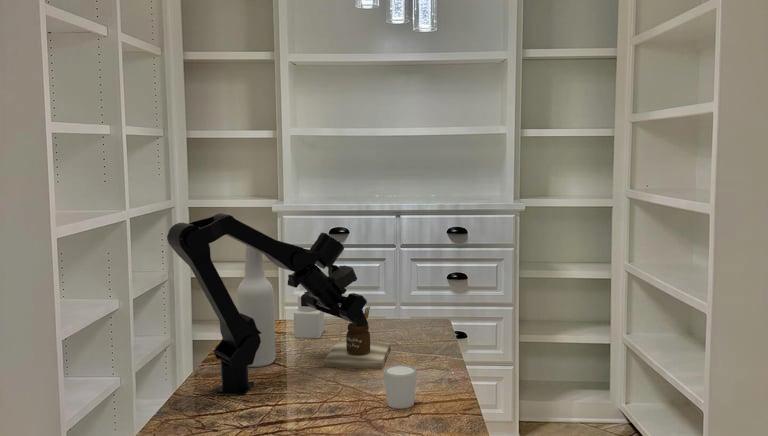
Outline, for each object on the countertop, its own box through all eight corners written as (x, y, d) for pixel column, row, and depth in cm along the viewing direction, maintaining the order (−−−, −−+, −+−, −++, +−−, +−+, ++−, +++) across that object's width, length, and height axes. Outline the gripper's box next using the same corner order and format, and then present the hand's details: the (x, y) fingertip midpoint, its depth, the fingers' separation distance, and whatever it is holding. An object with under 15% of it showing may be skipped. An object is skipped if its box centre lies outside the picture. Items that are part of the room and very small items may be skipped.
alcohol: (239, 369, 159) (234, 244, 156) (239, 357, 168) (235, 238, 164) (276, 366, 161) (272, 242, 157) (275, 355, 169) (271, 237, 166)
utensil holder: (356, 347, 170) (356, 300, 169) (376, 351, 166) (375, 304, 165) (341, 352, 166) (340, 305, 164) (361, 357, 162) (360, 309, 160)
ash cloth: (381, 369, 158) (381, 363, 158) (323, 367, 160) (323, 361, 160) (390, 348, 174) (390, 342, 174) (337, 346, 176) (337, 341, 175)
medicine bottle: (324, 331, 190) (323, 289, 189) (319, 338, 183) (318, 295, 182) (299, 330, 191) (298, 289, 189) (294, 338, 184) (292, 295, 182)
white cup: (397, 394, 142) (397, 362, 142) (423, 402, 138) (423, 369, 137) (376, 404, 137) (376, 371, 136) (403, 412, 133) (403, 378, 132)
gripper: (359, 261, 153) (397, 302, 161) (315, 251, 167) (352, 289, 175) (331, 300, 149) (371, 340, 157) (288, 287, 163) (327, 323, 171)
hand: (355, 321), depth 165 cm, fingers open, 9 cm apart
